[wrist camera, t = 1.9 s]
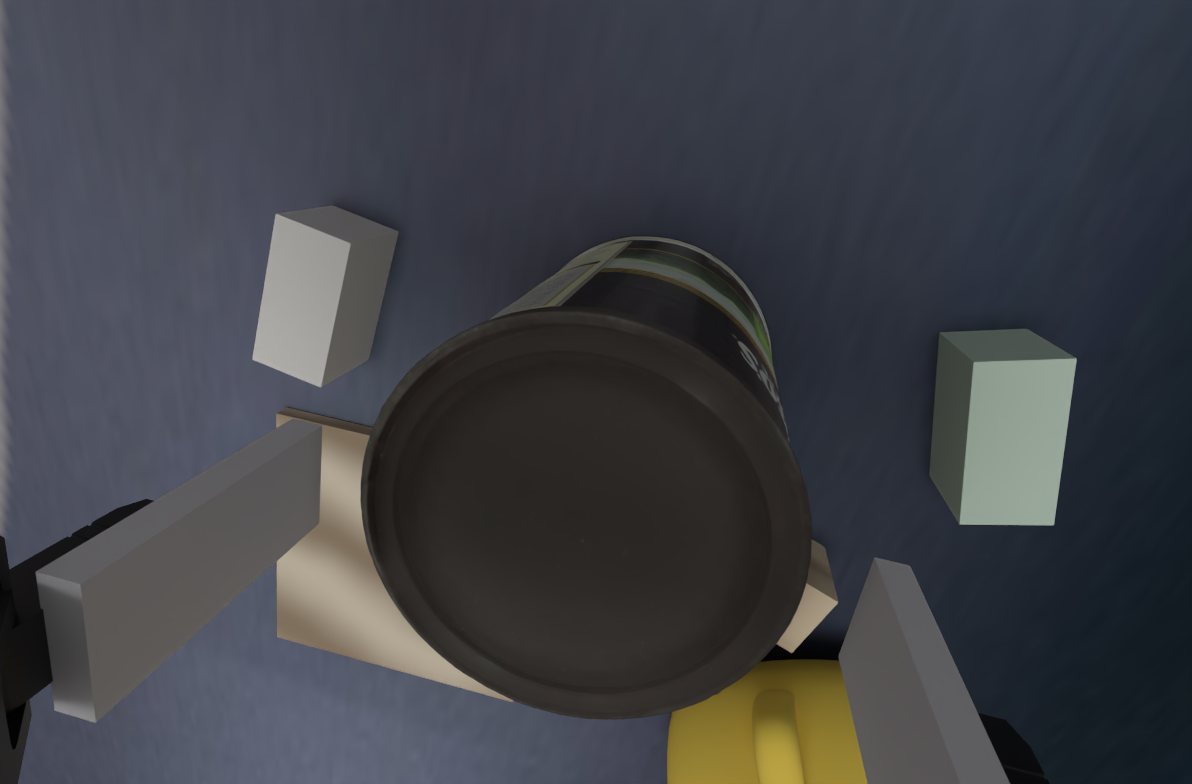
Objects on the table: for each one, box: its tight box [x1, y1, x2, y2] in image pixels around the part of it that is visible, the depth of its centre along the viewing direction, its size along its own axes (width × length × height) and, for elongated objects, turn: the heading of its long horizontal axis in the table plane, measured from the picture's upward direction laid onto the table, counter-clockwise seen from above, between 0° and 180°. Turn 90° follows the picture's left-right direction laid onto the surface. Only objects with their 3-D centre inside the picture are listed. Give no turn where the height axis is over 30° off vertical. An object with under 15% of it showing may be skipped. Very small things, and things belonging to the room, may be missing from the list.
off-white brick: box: [252, 206, 399, 387], centre depth 28 cm, size 6×3×4 cm, turn 161°
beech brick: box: [777, 540, 838, 653], centre depth 28 cm, size 6×3×4 cm, turn 61°
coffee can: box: [360, 236, 812, 719], centre depth 22 cm, size 10×10×14 cm
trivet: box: [276, 408, 514, 702], centre depth 33 cm, size 13×13×1 cm
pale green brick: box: [929, 329, 1077, 525], centre depth 25 cm, size 6×3×4 cm, turn 6°
